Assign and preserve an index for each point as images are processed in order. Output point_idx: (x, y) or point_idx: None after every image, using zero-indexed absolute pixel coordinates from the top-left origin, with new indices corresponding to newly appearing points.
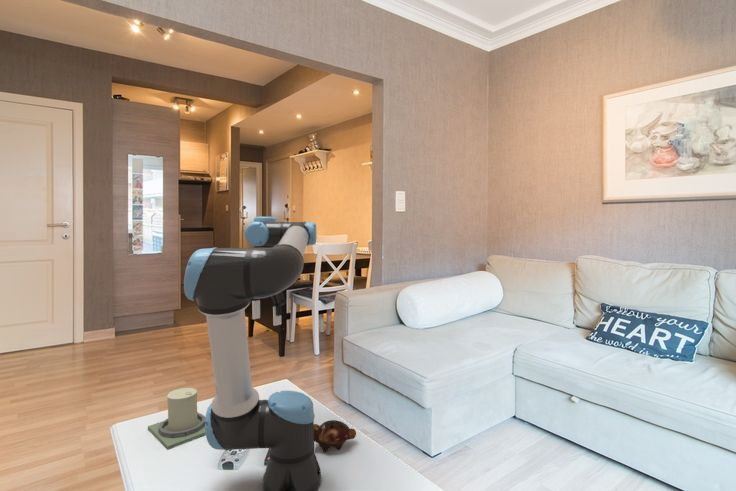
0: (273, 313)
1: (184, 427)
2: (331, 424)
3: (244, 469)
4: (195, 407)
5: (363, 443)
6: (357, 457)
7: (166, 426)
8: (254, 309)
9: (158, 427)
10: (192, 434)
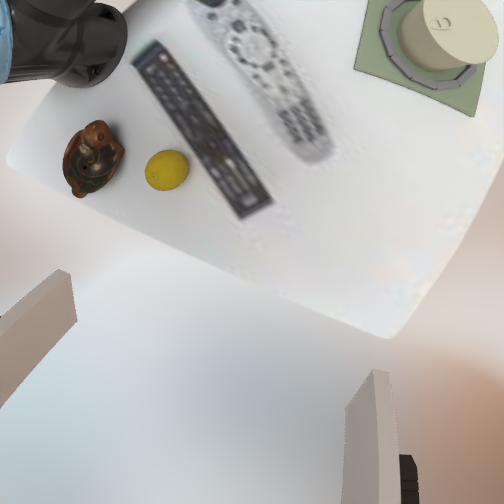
0: (5, 327)
1: (404, 17)
2: (71, 159)
3: (175, 9)
4: (416, 39)
5: None
6: (63, 155)
7: None
8: (371, 452)
9: None
10: (377, 21)
